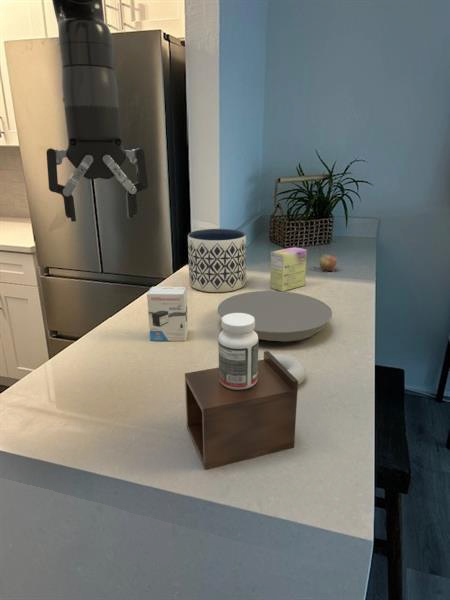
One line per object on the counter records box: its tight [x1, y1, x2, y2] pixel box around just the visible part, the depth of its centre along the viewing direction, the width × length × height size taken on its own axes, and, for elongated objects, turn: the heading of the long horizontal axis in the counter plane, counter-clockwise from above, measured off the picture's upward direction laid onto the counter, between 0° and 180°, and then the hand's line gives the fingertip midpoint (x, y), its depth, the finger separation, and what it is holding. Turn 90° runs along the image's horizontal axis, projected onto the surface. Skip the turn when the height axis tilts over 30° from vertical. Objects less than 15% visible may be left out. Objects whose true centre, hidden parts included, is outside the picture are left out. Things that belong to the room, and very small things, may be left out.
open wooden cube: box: [184, 350, 299, 470], centre depth 65 cm, size 14×10×11 cm
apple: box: [318, 253, 338, 272], centre depth 153 cm, size 6×8×6 cm
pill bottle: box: [217, 313, 259, 390], centre depth 62 cm, size 6×6×10 cm
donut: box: [258, 353, 307, 385], centre depth 83 cm, size 10×4×10 cm
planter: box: [187, 228, 247, 293], centre depth 137 cm, size 18×18×16 cm
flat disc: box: [217, 290, 333, 342], centre depth 107 cm, size 28×28×4 cm
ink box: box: [146, 286, 189, 342], centre depth 100 cm, size 8×5×12 cm, turn 88°
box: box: [269, 246, 308, 292], centre depth 135 cm, size 10×6×12 cm, turn 128°
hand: (102, 219), depth 67 cm, fingers open, 8 cm apart
